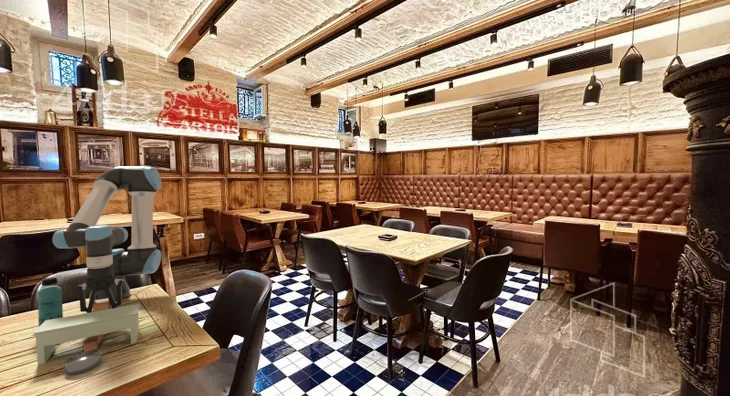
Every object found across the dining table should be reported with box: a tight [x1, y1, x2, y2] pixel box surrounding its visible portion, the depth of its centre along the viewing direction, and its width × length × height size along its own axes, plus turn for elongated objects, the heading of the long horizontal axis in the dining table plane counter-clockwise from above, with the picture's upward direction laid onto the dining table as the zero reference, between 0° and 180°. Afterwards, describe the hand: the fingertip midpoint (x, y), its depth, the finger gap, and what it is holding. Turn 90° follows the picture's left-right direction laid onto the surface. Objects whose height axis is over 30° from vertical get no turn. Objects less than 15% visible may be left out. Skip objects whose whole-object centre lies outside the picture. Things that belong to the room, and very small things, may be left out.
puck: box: [64, 349, 103, 376], centre depth 90 cm, size 8×8×3 cm
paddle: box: [83, 298, 111, 352], centre depth 107 cm, size 22×4×10 cm, turn 33°
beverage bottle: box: [37, 277, 64, 328], centre depth 113 cm, size 6×7×20 cm
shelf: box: [32, 303, 141, 366], centre depth 101 cm, size 10×25×10 cm, turn 123°
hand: (102, 325), depth 115 cm, fingers closed on paddle, 4 cm apart
